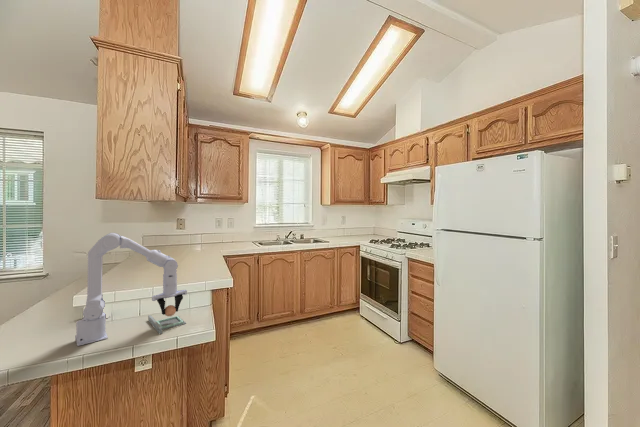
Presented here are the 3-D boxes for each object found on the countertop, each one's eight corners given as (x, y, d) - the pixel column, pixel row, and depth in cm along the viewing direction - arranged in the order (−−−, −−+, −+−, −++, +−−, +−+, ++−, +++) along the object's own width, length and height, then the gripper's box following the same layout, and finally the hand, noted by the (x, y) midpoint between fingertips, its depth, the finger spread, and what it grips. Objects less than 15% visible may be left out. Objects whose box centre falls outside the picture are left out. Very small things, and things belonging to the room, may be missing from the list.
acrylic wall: (159, 334, 116) (159, 328, 116) (148, 320, 130) (148, 315, 130) (162, 333, 116) (162, 327, 116) (150, 319, 131) (150, 314, 131)
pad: (159, 330, 119) (159, 328, 119) (153, 323, 127) (153, 320, 127) (186, 323, 127) (186, 321, 127) (178, 317, 134) (178, 314, 134)
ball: (165, 319, 123) (165, 308, 123) (162, 315, 127) (162, 305, 127) (177, 315, 127) (177, 305, 126) (174, 313, 130) (174, 302, 130)
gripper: (154, 288, 119) (154, 319, 119) (189, 282, 129) (189, 310, 129) (150, 285, 124) (150, 314, 124) (184, 279, 134) (184, 307, 134)
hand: (170, 312), depth 127 cm, fingers closed on ball, 5 cm apart
